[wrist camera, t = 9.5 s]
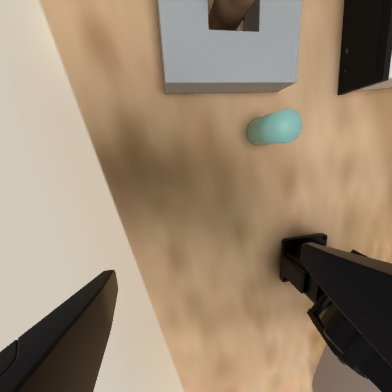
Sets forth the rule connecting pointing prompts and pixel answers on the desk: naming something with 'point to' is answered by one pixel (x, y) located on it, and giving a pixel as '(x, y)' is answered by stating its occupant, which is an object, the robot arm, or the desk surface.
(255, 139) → the teal pin
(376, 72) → the disc drive
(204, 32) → the block
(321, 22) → the desk surface
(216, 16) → the walnut pin
